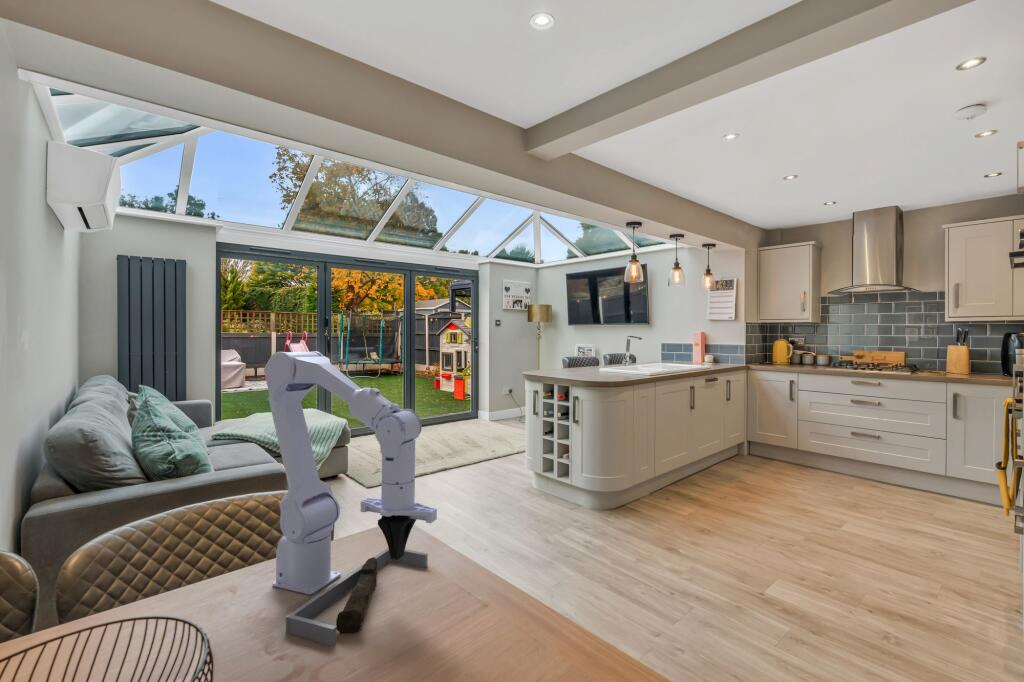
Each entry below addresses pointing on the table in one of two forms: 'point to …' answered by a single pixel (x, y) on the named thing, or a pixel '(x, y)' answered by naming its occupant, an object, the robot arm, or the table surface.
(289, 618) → the u-shaped bracket
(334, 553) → the table surface
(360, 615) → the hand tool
